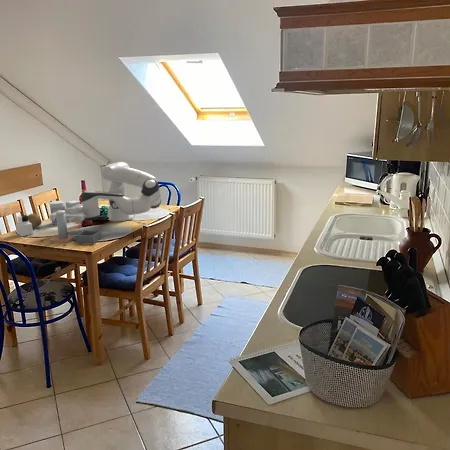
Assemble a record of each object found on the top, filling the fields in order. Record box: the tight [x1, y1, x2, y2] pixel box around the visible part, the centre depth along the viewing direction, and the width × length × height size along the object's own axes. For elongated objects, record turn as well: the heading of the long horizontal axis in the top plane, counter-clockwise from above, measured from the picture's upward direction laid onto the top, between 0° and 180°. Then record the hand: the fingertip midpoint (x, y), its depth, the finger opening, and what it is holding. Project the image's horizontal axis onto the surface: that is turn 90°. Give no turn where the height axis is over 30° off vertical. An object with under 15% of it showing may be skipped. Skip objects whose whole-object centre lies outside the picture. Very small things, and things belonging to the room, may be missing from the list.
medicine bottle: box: [15, 214, 34, 237], centre depth 269 cm, size 7×7×12 cm
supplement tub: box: [49, 200, 68, 226], centre depth 293 cm, size 10×10×15 cm
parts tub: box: [75, 230, 102, 245], centre depth 257 cm, size 11×11×4 cm
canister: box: [56, 210, 69, 239], centre depth 257 cm, size 5×5×16 cm
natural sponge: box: [27, 213, 42, 230], centre depth 282 cm, size 9×9×10 cm
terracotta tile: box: [49, 234, 77, 243], centre depth 260 cm, size 11×11×1 cm
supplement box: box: [65, 200, 81, 209], centre depth 304 cm, size 7×7×13 cm
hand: (61, 220), depth 256 cm, fingers open, 8 cm apart
